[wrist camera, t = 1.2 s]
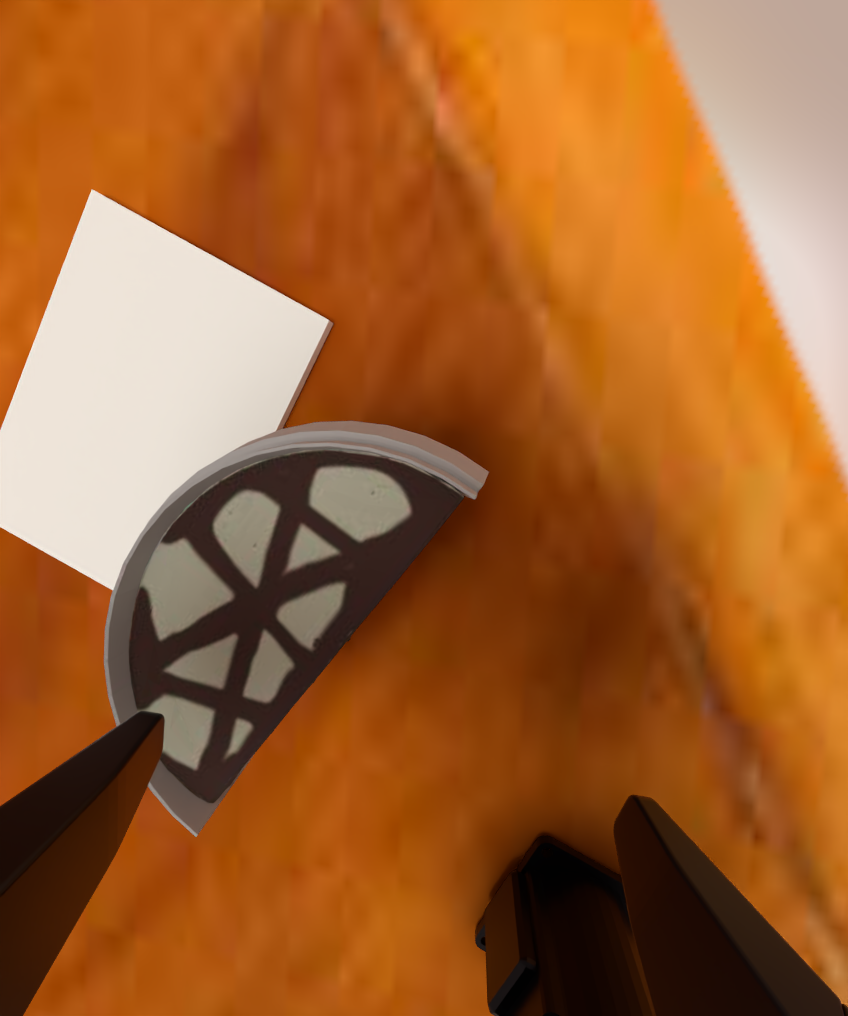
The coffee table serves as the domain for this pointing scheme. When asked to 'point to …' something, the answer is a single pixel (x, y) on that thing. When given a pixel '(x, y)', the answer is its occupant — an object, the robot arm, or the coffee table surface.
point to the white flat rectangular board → (141, 385)
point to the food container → (265, 587)
